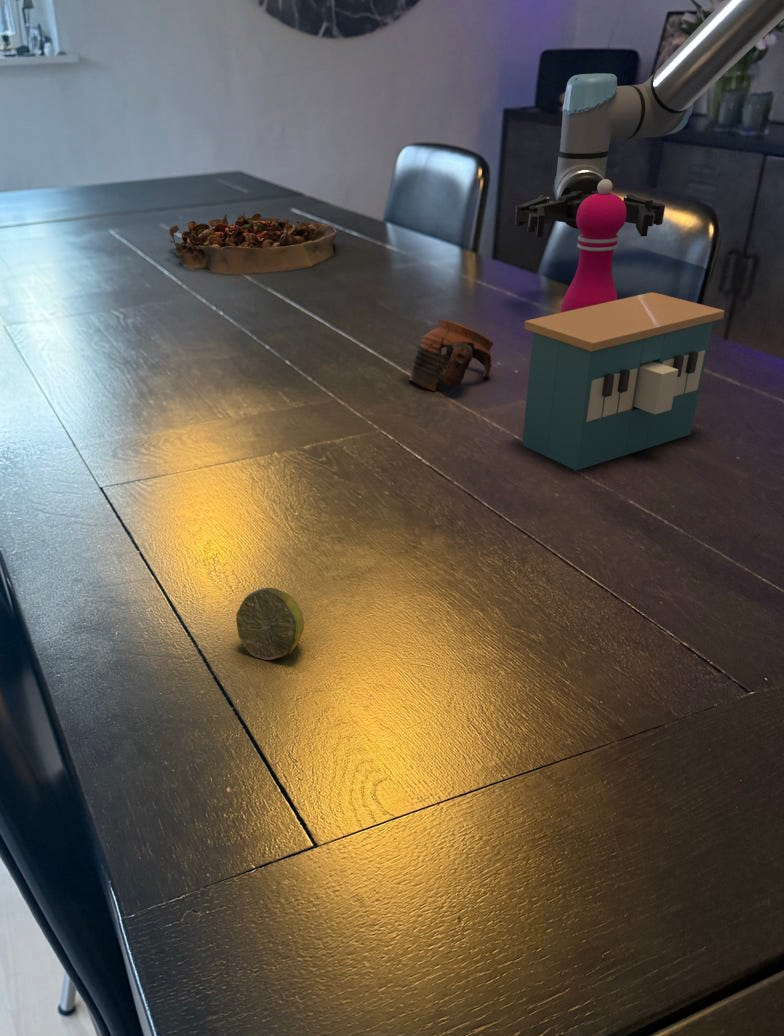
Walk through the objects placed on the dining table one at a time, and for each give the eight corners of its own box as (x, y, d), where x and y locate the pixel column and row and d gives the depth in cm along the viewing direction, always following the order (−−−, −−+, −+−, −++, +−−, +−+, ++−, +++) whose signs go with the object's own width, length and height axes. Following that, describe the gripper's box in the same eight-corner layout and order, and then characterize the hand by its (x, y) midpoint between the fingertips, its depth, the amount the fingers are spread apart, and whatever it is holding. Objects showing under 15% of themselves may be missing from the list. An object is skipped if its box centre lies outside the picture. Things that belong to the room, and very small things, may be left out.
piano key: (671, 410, 90) (678, 369, 88) (655, 414, 89) (662, 373, 87) (638, 398, 93) (645, 358, 91) (622, 402, 92) (628, 362, 90)
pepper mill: (624, 343, 124) (649, 178, 112) (587, 355, 120) (609, 186, 109) (582, 332, 129) (602, 172, 118) (545, 342, 126) (562, 179, 114)
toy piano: (699, 435, 97) (725, 310, 90) (575, 474, 90) (592, 342, 83) (633, 410, 104) (652, 291, 97) (513, 445, 97) (524, 320, 90)
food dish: (169, 246, 195) (165, 205, 191) (325, 238, 197) (325, 198, 193) (167, 278, 165) (162, 231, 161) (350, 268, 168) (350, 222, 164)
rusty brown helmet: (397, 376, 118) (425, 313, 116) (462, 406, 120) (491, 345, 118) (416, 382, 107) (447, 313, 104) (487, 415, 109) (520, 347, 106)
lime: (307, 664, 66) (304, 605, 63) (239, 670, 66) (233, 610, 63) (302, 630, 70) (299, 572, 67) (238, 635, 70) (232, 578, 67)
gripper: (663, 224, 142) (685, 255, 124) (497, 225, 146) (496, 255, 129) (672, 169, 137) (696, 194, 120) (501, 172, 142) (500, 196, 125)
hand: (592, 226), depth 124 cm, fingers open, 13 cm apart
